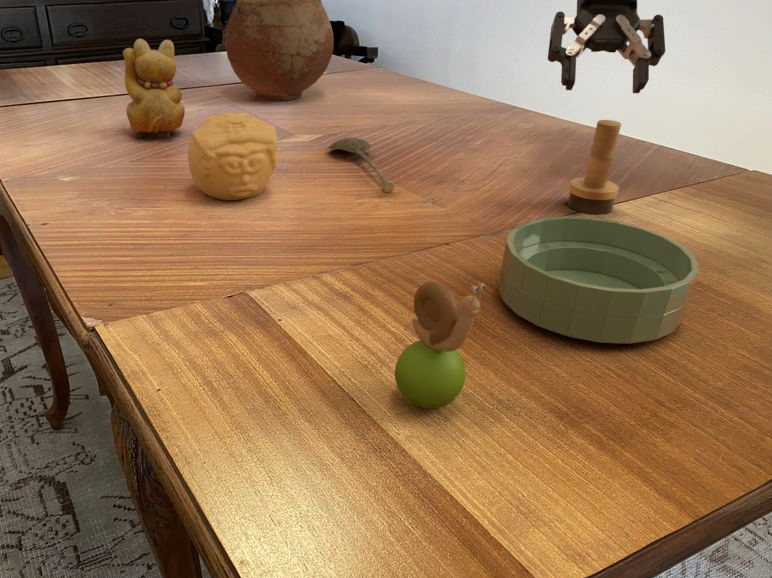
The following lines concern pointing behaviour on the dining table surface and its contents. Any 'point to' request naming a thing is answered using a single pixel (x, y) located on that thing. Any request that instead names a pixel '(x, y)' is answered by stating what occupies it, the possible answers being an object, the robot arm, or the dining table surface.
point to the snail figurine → (436, 346)
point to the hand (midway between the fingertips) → (604, 88)
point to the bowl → (597, 279)
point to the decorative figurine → (152, 90)
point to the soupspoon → (358, 148)
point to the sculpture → (232, 155)
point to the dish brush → (597, 173)
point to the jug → (279, 45)
